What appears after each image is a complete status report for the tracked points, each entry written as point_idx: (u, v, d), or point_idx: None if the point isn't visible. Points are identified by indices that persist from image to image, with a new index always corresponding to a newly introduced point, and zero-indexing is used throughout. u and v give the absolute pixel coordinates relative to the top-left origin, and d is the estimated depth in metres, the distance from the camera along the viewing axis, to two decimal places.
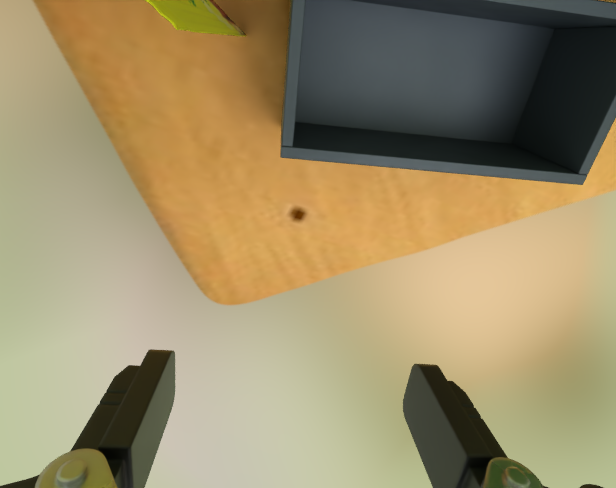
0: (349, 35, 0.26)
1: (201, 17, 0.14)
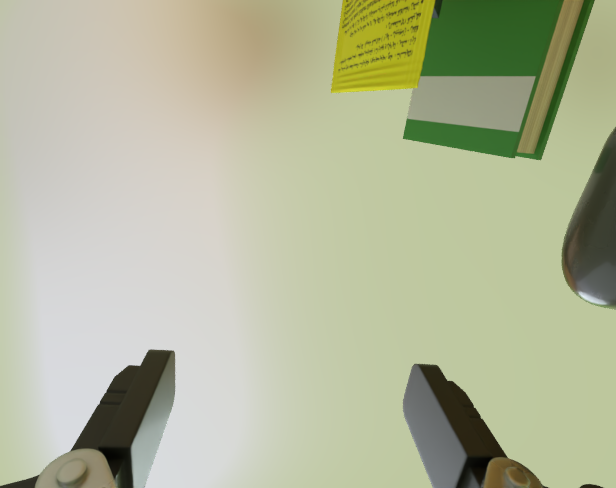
0: None
1: None
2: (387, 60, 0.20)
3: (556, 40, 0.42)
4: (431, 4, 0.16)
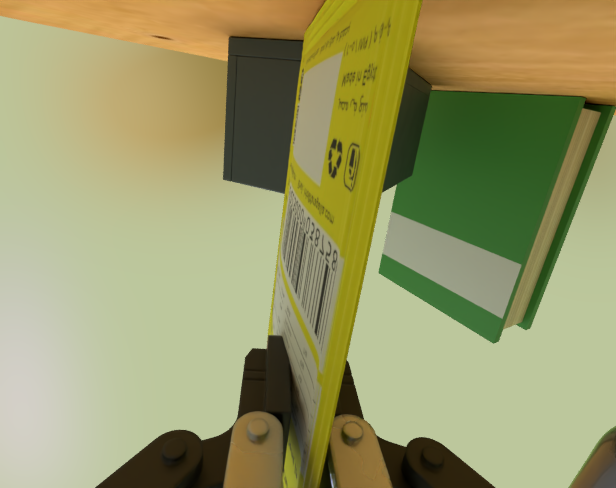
0: None
1: None
2: None
3: (546, 218, 0.36)
4: None
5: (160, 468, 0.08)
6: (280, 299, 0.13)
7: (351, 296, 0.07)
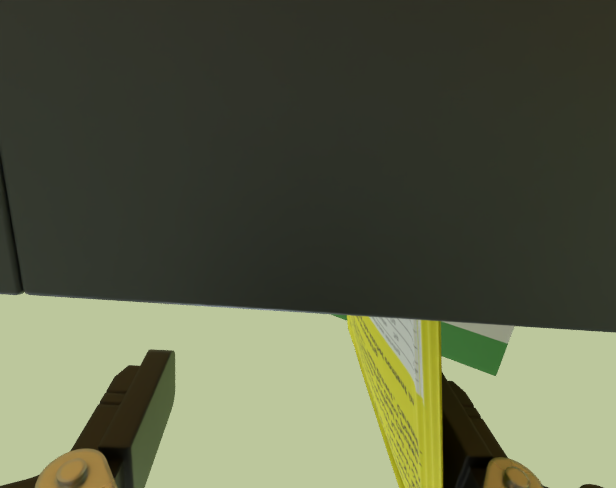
0: None
1: None
2: (398, 468, 0.14)
3: None
4: None
5: None
6: None
7: None
